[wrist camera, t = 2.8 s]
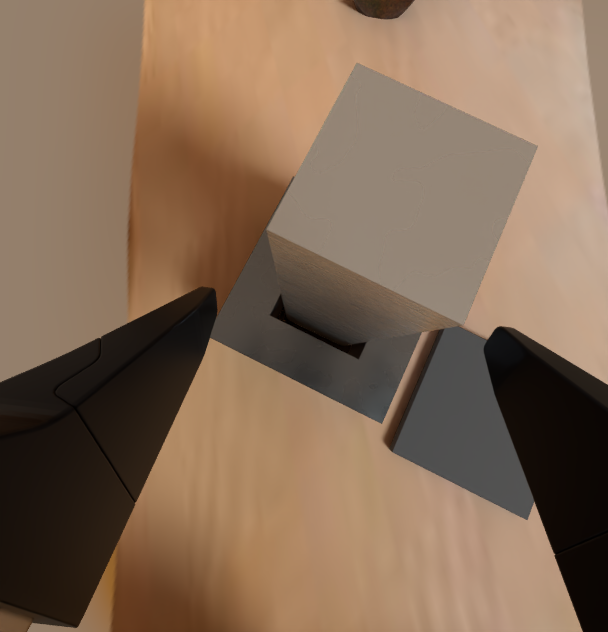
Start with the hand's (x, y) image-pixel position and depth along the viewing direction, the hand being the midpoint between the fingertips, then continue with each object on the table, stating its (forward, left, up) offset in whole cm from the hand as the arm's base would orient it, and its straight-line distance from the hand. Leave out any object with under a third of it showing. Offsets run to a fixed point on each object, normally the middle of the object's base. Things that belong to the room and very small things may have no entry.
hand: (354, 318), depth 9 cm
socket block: (+2, +1, -10) cm, 10 cm away
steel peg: (+2, +1, -10) cm, 10 cm away
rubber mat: (0, -11, -10) cm, 15 cm away
